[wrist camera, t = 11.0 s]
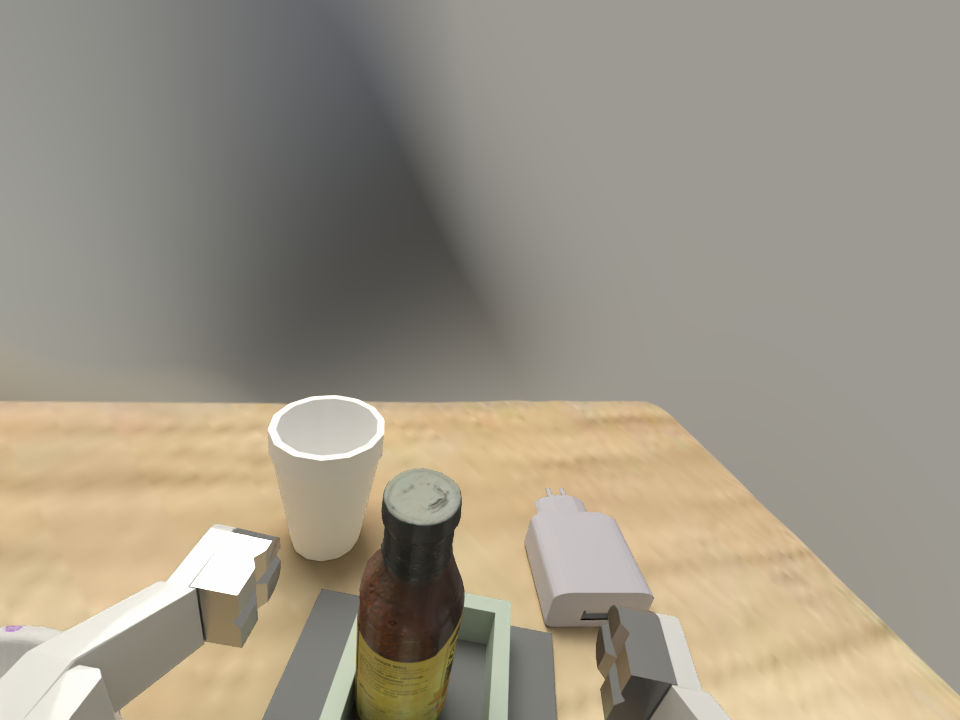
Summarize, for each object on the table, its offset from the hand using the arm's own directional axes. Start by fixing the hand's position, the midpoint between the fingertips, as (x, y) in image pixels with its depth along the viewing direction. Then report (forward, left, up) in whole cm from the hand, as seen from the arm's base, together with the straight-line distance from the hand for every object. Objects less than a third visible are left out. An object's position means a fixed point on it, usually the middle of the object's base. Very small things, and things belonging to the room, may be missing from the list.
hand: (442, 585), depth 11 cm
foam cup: (-12, +24, -27) cm, 38 cm away
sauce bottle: (-1, +11, -27) cm, 29 cm away
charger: (+12, +27, -28) cm, 41 cm away
